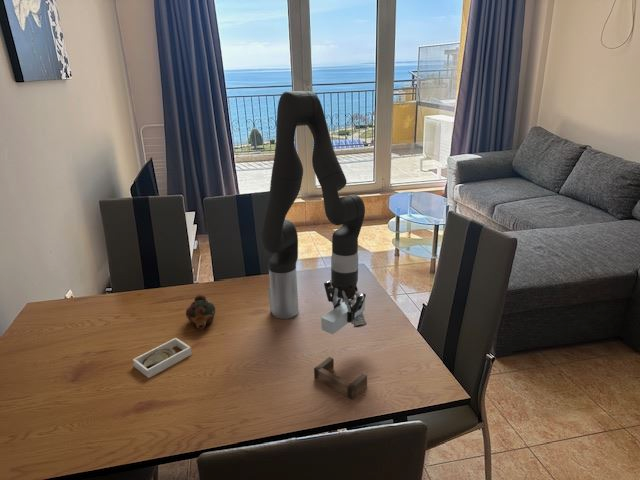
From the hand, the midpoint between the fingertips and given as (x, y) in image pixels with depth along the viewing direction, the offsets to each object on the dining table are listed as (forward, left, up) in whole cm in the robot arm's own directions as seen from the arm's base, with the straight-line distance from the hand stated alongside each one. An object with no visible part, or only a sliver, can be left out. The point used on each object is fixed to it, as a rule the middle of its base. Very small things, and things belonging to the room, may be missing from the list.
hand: (344, 318), depth 130 cm
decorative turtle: (-48, -18, -11) cm, 52 cm away
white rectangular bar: (0, 0, 0) cm, 0 cm away
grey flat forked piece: (-12, +20, -12) cm, 26 cm away
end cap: (+8, -12, -11) cm, 18 cm away
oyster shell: (-38, -39, -11) cm, 56 cm away
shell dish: (-39, -38, -11) cm, 55 cm away
